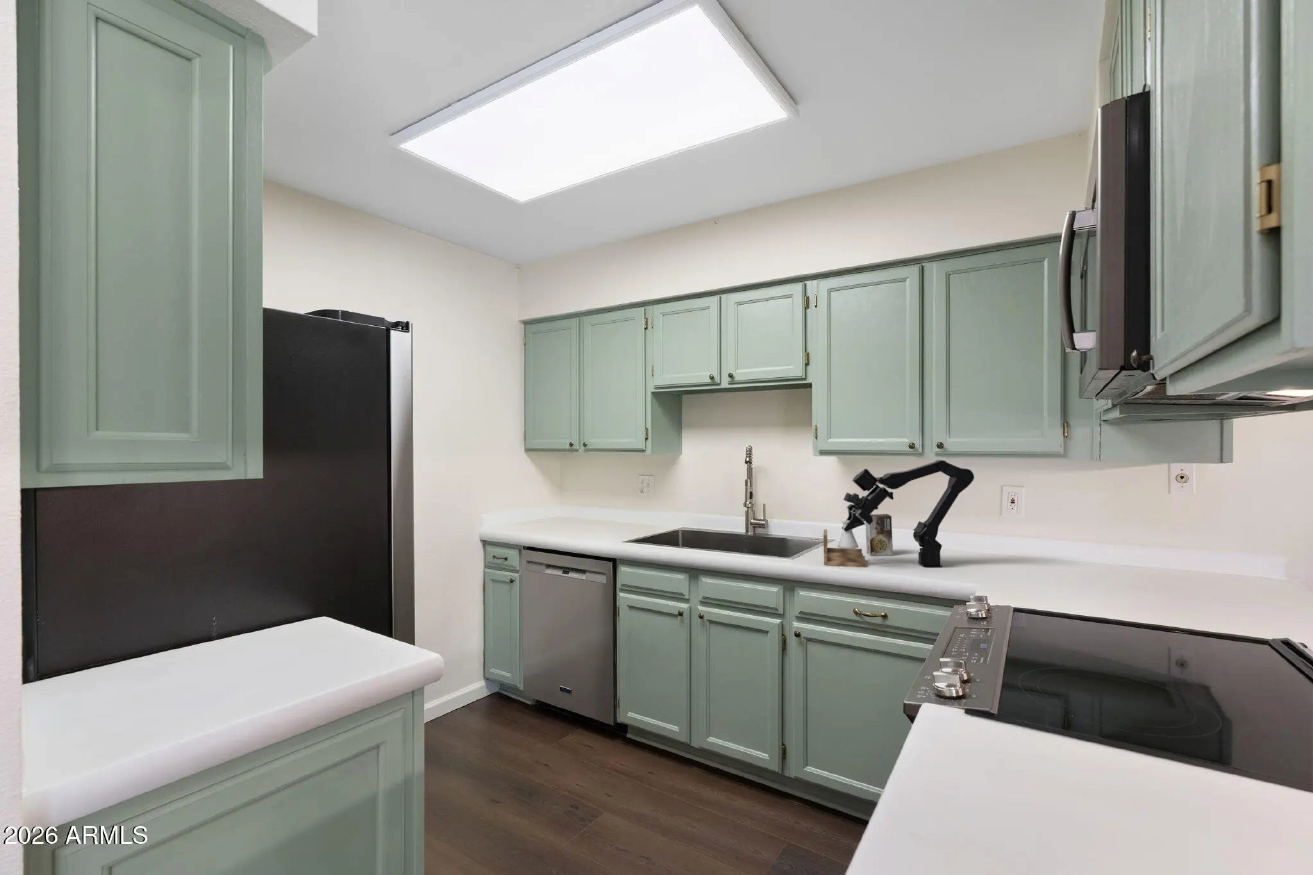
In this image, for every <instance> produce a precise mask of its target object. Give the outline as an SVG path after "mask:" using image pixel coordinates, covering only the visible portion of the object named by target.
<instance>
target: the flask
mask: <svg viewBox="0 0 1313 875" xmlns="http://www.w3.org/2000/svg"><path fill="white" fill-rule="evenodd" d="M848 522H849V521H846V520H843V521H842V524H843V525H842V527H843V529H842V531H841V532H842V533H841V536H840V539H839V541H838V543H837V548H843V549H859V544H858V542H857V540H856V537H855V534H854V533H853V529H851V530H849V531H846V532H845V531H844V528H845V527H846V525H847V524H848Z"/></svg>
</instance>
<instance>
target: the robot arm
mask: <svg viewBox="0 0 1313 875" xmlns="http://www.w3.org/2000/svg"><path fill="white" fill-rule="evenodd" d="M939 472H941V473H943V474H944V475H945V476H948V481H947V487H946V489H945V490H944V492H943V493H942V494H941V497H940V498H939V500H938V501H937V503H936V505H935V506H934V508H933V510H932V511H931V513H930V514H929V515H928V517H927V519H926V520H925V521H920V520H919V521H918V522H917V524H916V526H915V527H914V529H913V533H912V537H913V539H914V541H915V542H916V543H917V544H918V546H919V551H918V554H917V556H918V559H917V560H918V564H919V565H920V566H922V567H924V568H943V565H942V564H941V550H942V547H943V545H942V544H941V543H940V541H938V540H937V536H938V533H939V527H940V525H941V523H942V522H943V520H944V518H945V517H946V516H947V514H948V512H949V511H950V509H951V507H952V506H953V504H954V503H955V501H956V499H957V498H958V496H960V494H961V493H962V492H963V491H964V490H966V489H967V488H968V487H969V486H971V484H972V483H973V482H974V480H975V475H974V472H973V471H972V470H971V469H969V468H964V467H959V466H956V465H954V464H951V463H950V462H948V461H946V460H943V459H937V460H935V461H933V462H930V463H926V464H923V465H920V466H916V467H913V468H911V469H907V470H903V471H895V472H887V473H884V475H883V476H880V477H878V476H877V477H876V476H875V475H873V474H872V473H871V471H870V470H869V469H868V468H864V469H863V470H861V471H859V473H856V475H855V476H854V477H853V478H852V482H853V483H854V484H855V485H856V486H857V487H858V488H860V489H861V490H862V491H863V492H866V491H867V492H868V493H867V494H866V495H862V496H861V497H860V495H859V494H857V492H856V493H855V492H853V493H849V492H846V493H845V495H844V498H843V501H845V502H847V503H849V504H848V505H847V506H846V509H847V514H848V515H847V518H846V520H845V521H849V522H848V524H847V525H846V527H845V528H844V531H845V532H846V531H849V530H851V529H852V530H854V529H856V528H859V527H861V526H864V525H865V526H866V522H867V524H869V525H870V524H871V523H872V522H873V517H872V516H870V514H873V512H874V511H875V510H876V511H877V510H878V509H879V506H880V505H881V504H882V503H883V502H884V501H885V500H886V499H887V498H888V499H889V500H891V501H892V500H894V492H893V491H889V490H888V489H890V490H897V489H900V488H901V487H903V486H905V485H906V484H907V485H908V483H910V482H911V481H914V480H917V479H921V478H924V477H927V476H931V475H934V474H937V473H939ZM880 485H883V486H882V487H881V486H880ZM841 530H843V526H842V527H841Z"/></svg>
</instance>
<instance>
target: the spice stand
mask: <svg viewBox="0 0 1313 875" xmlns="http://www.w3.org/2000/svg"><path fill="white" fill-rule="evenodd" d="M822 534H823V535H822V537H823V566H824V565H831V566H830V567H847V568H848V567H852V568H854V567H855V568H867V561H866V557H865V555H864V553H863V549H862V548H855V549H843V548H839V547H828V529H823V533H822Z"/></svg>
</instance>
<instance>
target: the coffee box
mask: <svg viewBox="0 0 1313 875" xmlns="http://www.w3.org/2000/svg"><path fill="white" fill-rule="evenodd" d="M870 516H872V517H873V522H872V523H871V524H870V525H869V524H867V522H866V521H865V539H866V540H865V542H866V554H867V555H869V557H873V556H874V557H875V556H879V557H880V556H881V557H882V556H883V557H884V556H887V557H888V556H894V554H893V553H894V550H893V548H894V547H893V546H894V545H893V524H892V522H893V521H892V515H890V514H889V513H877V514H876V513H871V514H870Z"/></svg>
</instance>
